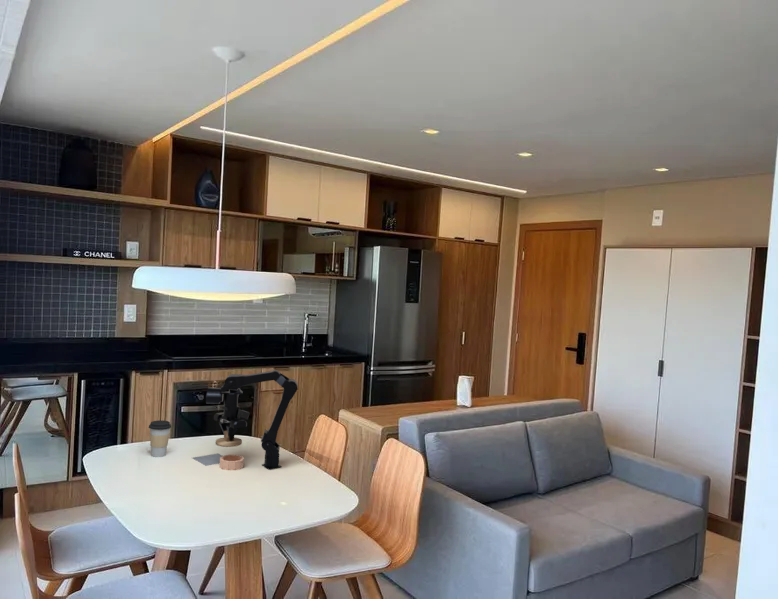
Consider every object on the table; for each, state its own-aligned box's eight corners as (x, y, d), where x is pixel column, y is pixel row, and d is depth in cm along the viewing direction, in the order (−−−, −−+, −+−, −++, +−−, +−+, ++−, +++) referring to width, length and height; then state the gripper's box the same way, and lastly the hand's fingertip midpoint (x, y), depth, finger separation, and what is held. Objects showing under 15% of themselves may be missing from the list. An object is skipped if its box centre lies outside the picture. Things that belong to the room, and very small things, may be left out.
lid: (246, 444, 254) (247, 432, 254) (223, 448, 246) (223, 436, 246) (233, 438, 262) (234, 427, 262) (210, 442, 254) (211, 430, 254)
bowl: (247, 468, 253) (248, 459, 252) (226, 472, 245) (227, 463, 245) (235, 462, 260) (236, 453, 259) (215, 466, 252) (215, 456, 252)
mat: (232, 461, 260) (232, 460, 260) (205, 466, 251) (205, 465, 251) (218, 454, 269) (218, 453, 269) (191, 458, 260) (191, 457, 260)
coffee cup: (173, 456, 262) (176, 422, 261) (155, 460, 254) (157, 426, 253) (160, 451, 267) (162, 418, 266) (141, 455, 259) (144, 422, 258)
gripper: (258, 406, 253) (256, 442, 253) (236, 398, 266) (235, 432, 267) (235, 409, 245) (233, 446, 245) (214, 400, 258) (212, 435, 259)
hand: (229, 439), depth 254 cm, fingers closed on lid, 3 cm apart
